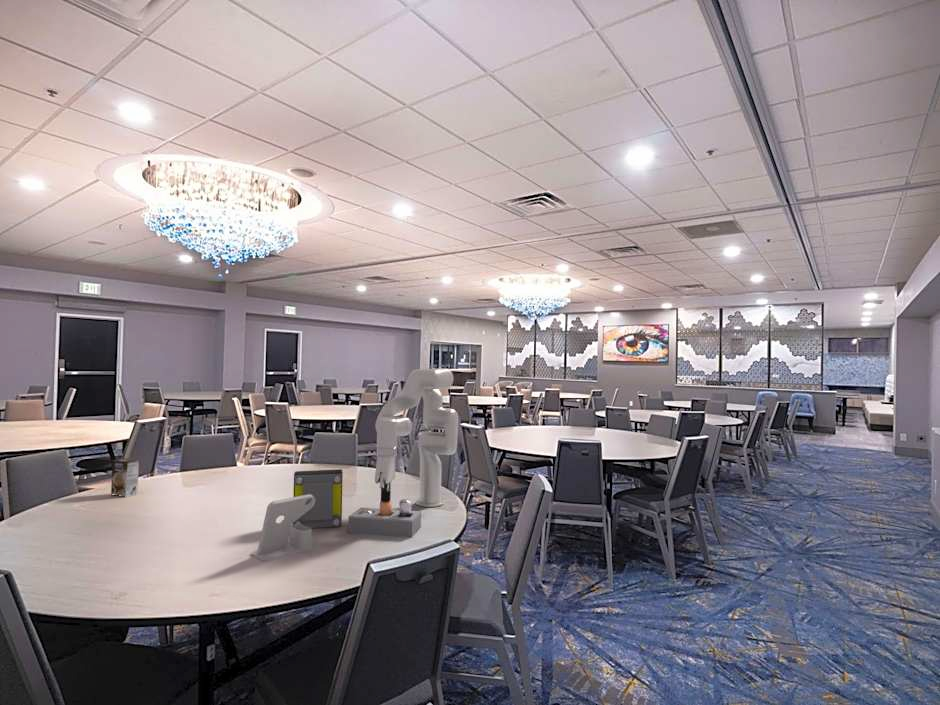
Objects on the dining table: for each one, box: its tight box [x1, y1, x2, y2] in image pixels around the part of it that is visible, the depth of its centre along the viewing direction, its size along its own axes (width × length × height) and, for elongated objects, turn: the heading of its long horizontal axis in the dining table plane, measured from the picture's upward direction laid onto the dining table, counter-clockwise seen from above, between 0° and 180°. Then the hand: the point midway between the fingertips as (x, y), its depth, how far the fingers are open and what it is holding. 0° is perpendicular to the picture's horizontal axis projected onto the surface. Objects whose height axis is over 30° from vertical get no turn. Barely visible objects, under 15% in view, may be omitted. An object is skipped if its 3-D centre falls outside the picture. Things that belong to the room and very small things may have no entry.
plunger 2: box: [398, 498, 412, 517], centre depth 193 cm, size 4×4×5 cm
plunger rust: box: [379, 500, 393, 516], centre depth 194 cm, size 4×4×5 cm
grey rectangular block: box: [348, 507, 422, 538], centre depth 194 cm, size 12×24×6 cm, turn 80°
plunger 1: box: [360, 509, 372, 515], centre depth 196 cm, size 4×4×5 cm
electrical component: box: [292, 468, 343, 529], centre depth 199 cm, size 18×10×20 cm, turn 105°
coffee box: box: [110, 458, 140, 497], centre depth 240 cm, size 9×6×16 cm
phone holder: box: [251, 494, 315, 563], centre depth 171 cm, size 17×10×18 cm, turn 139°
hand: (385, 501), depth 194 cm, fingers closed
